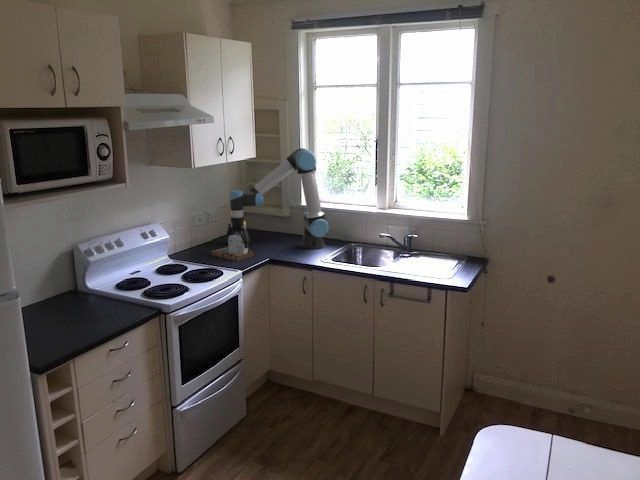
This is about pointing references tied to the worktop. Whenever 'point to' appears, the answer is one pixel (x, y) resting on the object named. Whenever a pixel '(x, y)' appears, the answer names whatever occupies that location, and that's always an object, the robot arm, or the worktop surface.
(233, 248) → the light bulb box
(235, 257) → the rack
